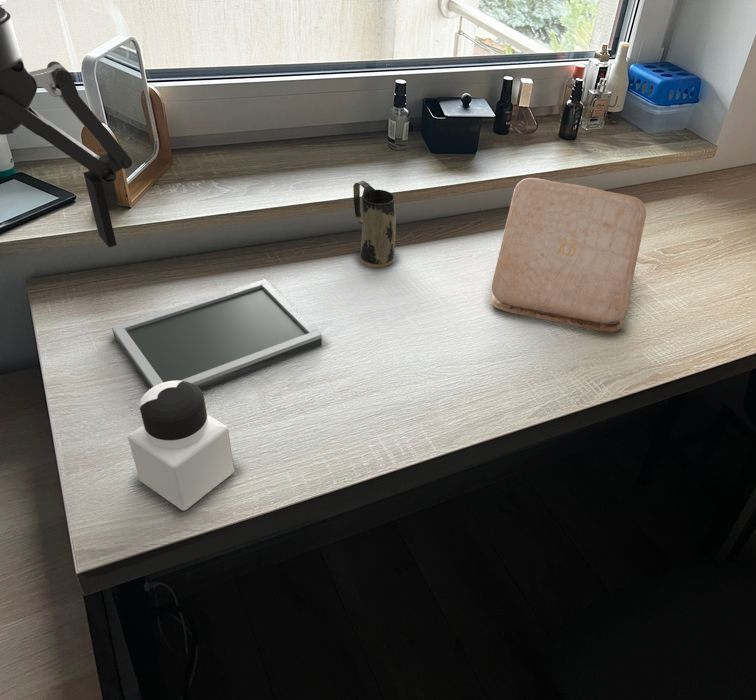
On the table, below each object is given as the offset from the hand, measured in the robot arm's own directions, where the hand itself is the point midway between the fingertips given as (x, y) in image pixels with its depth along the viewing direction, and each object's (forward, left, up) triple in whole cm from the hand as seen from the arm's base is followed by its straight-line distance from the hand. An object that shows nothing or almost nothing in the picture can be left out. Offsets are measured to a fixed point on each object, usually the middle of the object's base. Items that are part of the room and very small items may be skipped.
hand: (30, 259), depth 66 cm
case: (+70, -6, -25) cm, 74 cm away
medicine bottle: (+7, -10, -25) cm, 28 cm away
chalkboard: (+20, +10, -25) cm, 33 cm away
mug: (+50, +18, -25) cm, 59 cm away
